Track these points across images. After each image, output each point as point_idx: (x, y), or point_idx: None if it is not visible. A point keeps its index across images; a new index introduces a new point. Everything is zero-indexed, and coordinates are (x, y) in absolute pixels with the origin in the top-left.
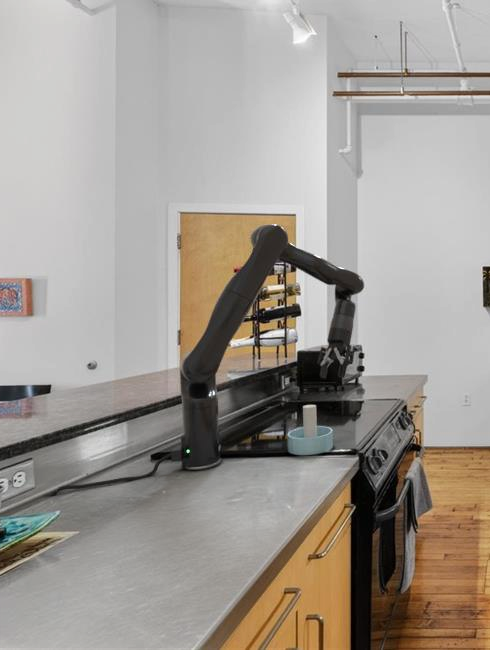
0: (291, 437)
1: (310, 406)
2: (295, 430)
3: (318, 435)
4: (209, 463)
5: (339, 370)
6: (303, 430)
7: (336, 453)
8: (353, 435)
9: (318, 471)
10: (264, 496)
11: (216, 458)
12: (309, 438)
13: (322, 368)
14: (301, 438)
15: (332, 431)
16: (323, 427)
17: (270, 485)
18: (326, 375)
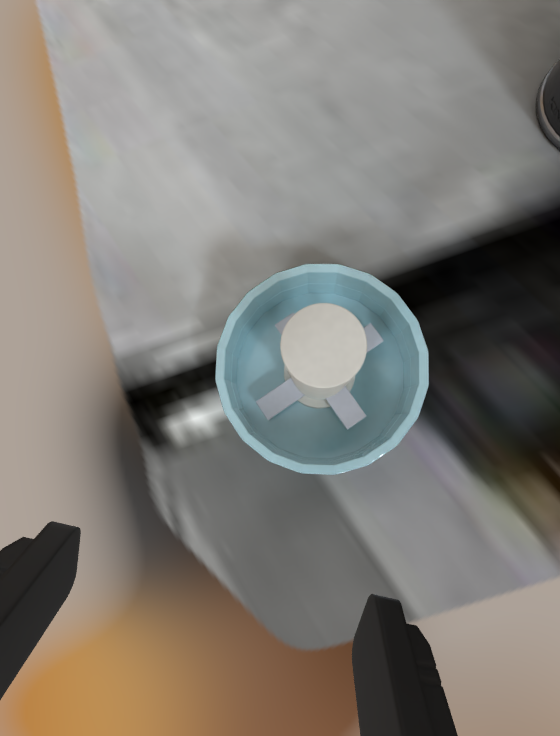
0: (350, 268)
1: (312, 340)
2: (418, 376)
3: (340, 458)
4: (547, 80)
5: (25, 568)
6: (401, 418)
7: (199, 377)
8: (261, 619)
9: (159, 206)
10: (195, 10)
11: (551, 101)
12: (261, 283)
13: (401, 698)
14: (295, 270)
15: (224, 411)
16: (312, 463)
17: (231, 68)
18: (355, 683)
